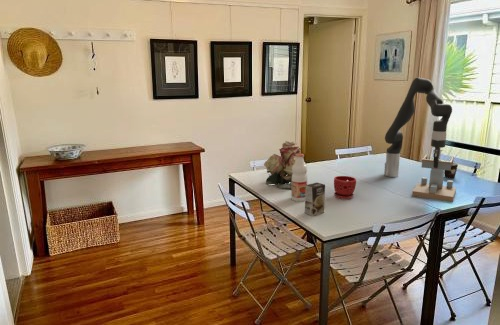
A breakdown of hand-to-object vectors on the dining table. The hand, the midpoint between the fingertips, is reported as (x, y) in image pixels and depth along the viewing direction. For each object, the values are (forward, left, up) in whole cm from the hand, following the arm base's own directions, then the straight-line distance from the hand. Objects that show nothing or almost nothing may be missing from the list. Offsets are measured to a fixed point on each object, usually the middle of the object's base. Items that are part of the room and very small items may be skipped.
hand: (435, 167), depth 217 cm
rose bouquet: (-88, -20, -19) cm, 92 cm away
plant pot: (-46, -26, -19) cm, 56 cm away
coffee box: (-51, -60, -19) cm, 81 cm away
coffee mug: (+3, +52, -19) cm, 55 cm away
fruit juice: (-68, -44, -19) cm, 83 cm away
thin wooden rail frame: (0, +8, -1) cm, 8 cm away
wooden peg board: (0, +7, -19) cm, 20 cm away
